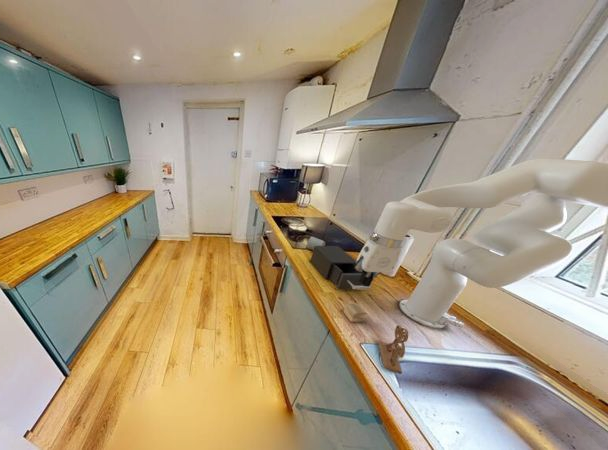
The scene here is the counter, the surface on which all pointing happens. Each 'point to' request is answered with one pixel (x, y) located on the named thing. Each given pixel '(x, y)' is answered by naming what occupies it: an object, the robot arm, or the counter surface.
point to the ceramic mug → (314, 243)
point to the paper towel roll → (402, 253)
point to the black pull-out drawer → (346, 276)
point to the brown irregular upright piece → (394, 350)
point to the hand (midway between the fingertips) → (363, 283)
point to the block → (354, 312)
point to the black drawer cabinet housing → (329, 258)
